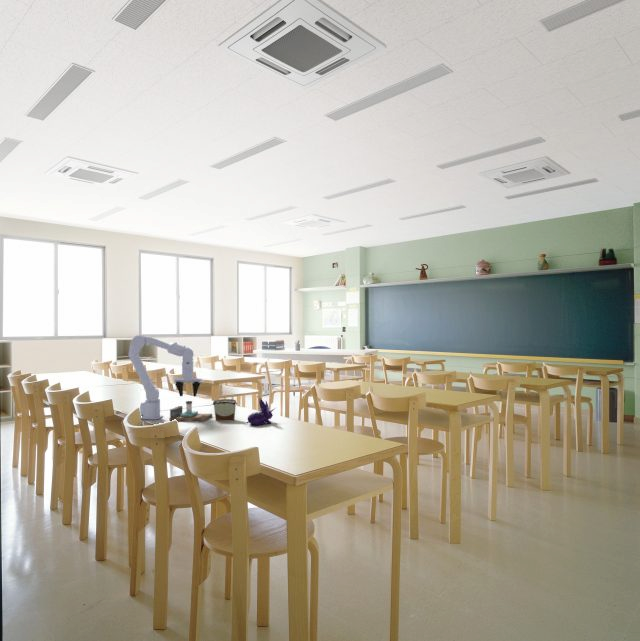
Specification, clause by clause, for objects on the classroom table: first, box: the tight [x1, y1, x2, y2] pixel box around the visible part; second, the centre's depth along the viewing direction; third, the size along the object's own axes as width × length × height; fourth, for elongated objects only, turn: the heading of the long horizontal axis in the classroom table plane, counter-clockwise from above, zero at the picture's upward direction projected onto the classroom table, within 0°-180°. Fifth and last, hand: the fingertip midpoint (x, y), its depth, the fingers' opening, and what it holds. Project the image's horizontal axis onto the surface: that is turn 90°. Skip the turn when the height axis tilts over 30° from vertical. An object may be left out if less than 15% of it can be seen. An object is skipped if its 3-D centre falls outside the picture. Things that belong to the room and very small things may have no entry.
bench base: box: [168, 405, 213, 423], centre depth 250 cm, size 18×12×6 cm, turn 81°
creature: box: [245, 397, 276, 426], centre depth 236 cm, size 9×18×12 cm, turn 128°
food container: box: [212, 398, 238, 422], centre depth 247 cm, size 12×6×10 cm, turn 84°
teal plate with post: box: [180, 400, 199, 417], centre depth 250 cm, size 6×8×7 cm
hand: (188, 396), depth 259 cm, fingers open, 7 cm apart
